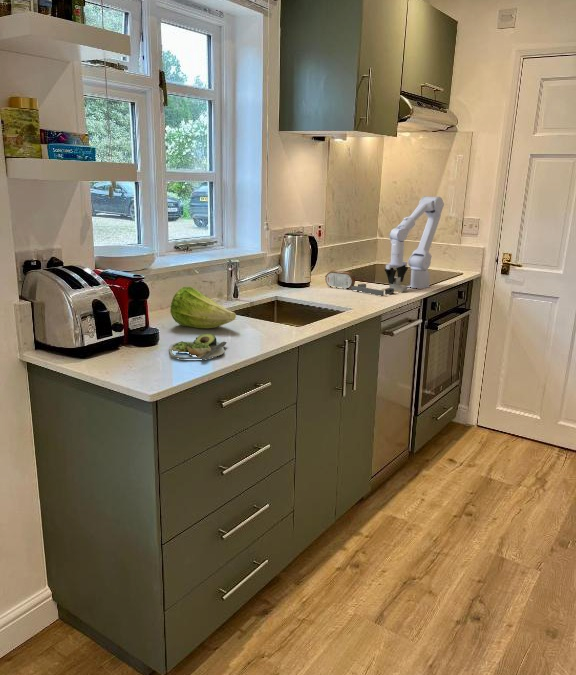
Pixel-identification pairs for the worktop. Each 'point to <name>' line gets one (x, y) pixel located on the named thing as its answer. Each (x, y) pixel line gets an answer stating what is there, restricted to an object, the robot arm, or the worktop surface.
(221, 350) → the salad plate
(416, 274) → the robot arm
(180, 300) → the lettuce
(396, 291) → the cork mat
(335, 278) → the tin
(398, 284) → the grey t-shaped block
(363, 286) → the vise jaws
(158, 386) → the worktop surface
